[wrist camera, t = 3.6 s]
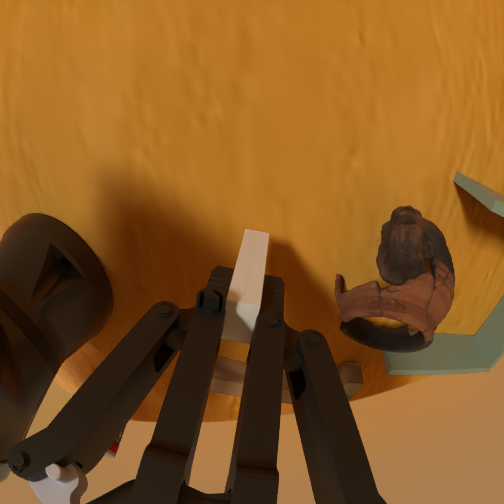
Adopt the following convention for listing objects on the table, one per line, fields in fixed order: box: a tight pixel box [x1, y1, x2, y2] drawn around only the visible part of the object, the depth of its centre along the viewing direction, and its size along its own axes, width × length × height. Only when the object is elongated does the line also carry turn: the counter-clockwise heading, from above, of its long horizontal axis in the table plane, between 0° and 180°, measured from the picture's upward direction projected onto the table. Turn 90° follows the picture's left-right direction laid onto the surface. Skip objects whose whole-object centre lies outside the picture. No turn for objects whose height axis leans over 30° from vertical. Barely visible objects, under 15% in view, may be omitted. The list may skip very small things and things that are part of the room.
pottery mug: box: [335, 206, 455, 353], centre depth 18 cm, size 12×10×8 cm
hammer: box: [209, 357, 363, 404], centre depth 29 cm, size 16×8×3 cm, turn 81°
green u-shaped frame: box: [382, 172, 504, 375], centre depth 18 cm, size 15×17×5 cm
